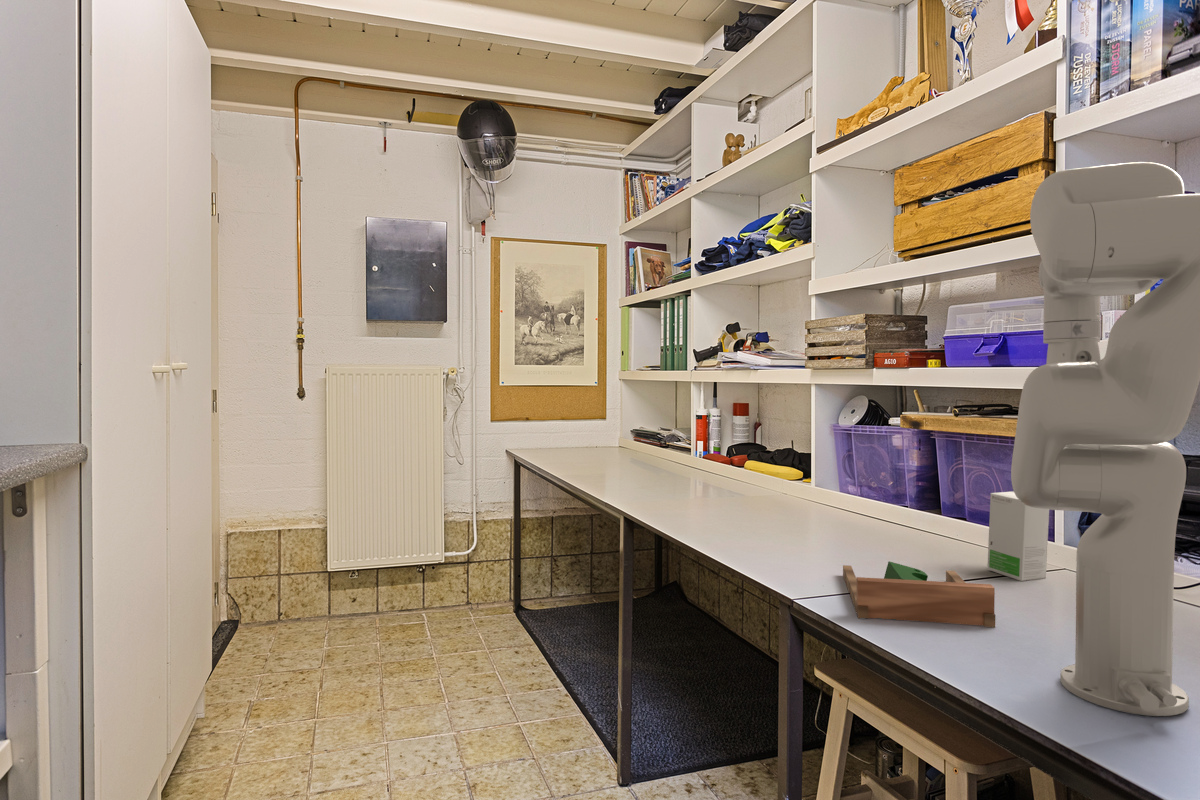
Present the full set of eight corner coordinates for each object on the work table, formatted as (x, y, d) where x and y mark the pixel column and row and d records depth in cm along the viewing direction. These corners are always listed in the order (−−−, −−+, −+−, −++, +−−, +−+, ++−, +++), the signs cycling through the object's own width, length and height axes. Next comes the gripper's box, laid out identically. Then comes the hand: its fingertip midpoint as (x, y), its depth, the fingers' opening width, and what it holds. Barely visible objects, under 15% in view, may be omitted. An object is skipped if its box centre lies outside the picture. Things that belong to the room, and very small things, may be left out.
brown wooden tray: (995, 627, 109) (995, 588, 109) (858, 618, 114) (858, 581, 114) (954, 581, 133) (954, 549, 133) (842, 575, 138) (843, 544, 138)
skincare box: (986, 570, 141) (987, 492, 140) (1012, 567, 143) (1013, 490, 142) (1023, 582, 133) (1023, 499, 132) (1050, 578, 135) (1050, 497, 134)
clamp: (922, 637, 117) (941, 596, 113) (885, 626, 118) (902, 585, 114) (914, 590, 128) (931, 551, 123) (880, 581, 129) (896, 541, 125)
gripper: (1120, 330, 105) (1118, 453, 105) (1078, 335, 119) (1076, 444, 120) (1063, 331, 106) (1062, 453, 107) (1028, 336, 121) (1027, 443, 122)
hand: (1069, 448), depth 113 cm, fingers closed
